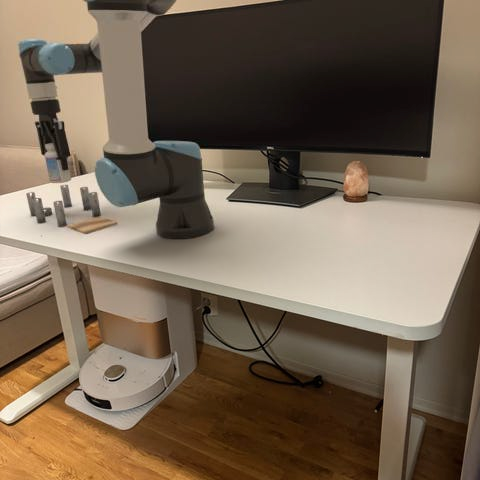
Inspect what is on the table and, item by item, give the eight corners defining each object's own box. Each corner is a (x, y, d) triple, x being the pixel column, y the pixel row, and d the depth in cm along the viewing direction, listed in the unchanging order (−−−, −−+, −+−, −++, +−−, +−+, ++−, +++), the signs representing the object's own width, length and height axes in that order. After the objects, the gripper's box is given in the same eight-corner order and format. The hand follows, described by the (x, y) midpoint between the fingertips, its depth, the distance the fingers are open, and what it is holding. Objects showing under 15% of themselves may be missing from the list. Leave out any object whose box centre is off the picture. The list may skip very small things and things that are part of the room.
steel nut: (55, 213, 145) (54, 207, 145) (47, 217, 142) (46, 211, 141) (44, 213, 146) (43, 207, 146) (36, 217, 143) (34, 211, 142)
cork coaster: (117, 224, 131) (117, 222, 131) (85, 234, 124) (85, 232, 124) (99, 218, 137) (98, 216, 137) (67, 227, 131) (67, 225, 131)
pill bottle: (64, 183, 135) (56, 144, 132) (46, 184, 137) (37, 145, 133) (75, 178, 141) (68, 141, 137) (57, 179, 142) (49, 142, 138)
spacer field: (108, 213, 141) (104, 191, 139) (53, 229, 130) (48, 205, 127) (75, 203, 155) (71, 183, 152) (23, 217, 143) (18, 195, 141)
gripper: (72, 97, 127) (88, 180, 135) (42, 98, 140) (58, 174, 147) (46, 99, 122) (64, 186, 130) (17, 101, 135) (34, 179, 142)
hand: (60, 179), depth 139 cm, fingers closed on pill bottle, 6 cm apart
